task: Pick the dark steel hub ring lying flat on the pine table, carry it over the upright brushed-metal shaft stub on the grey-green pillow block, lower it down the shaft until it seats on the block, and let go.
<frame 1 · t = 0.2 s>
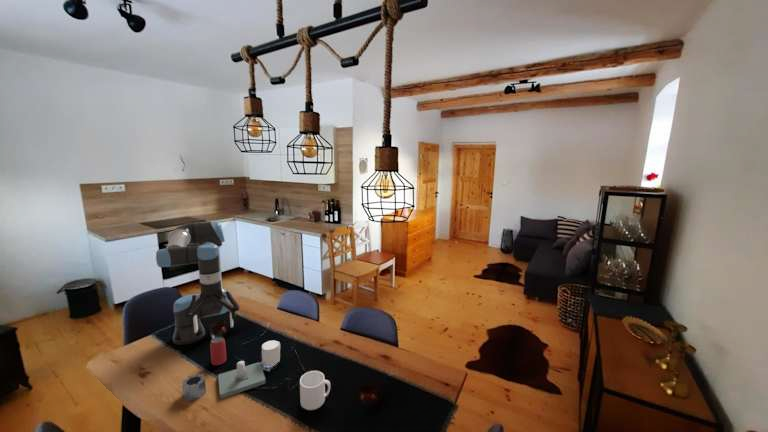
hand: (214, 328, 129), 27 cm above the table, fingers open, 13 cm apart
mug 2: (272, 360, 151), on the table
steel hub: (195, 393, 128), on the table
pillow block: (241, 380, 136), on the table
beer can: (219, 362, 149), on the table
mug: (315, 401, 125), on the table
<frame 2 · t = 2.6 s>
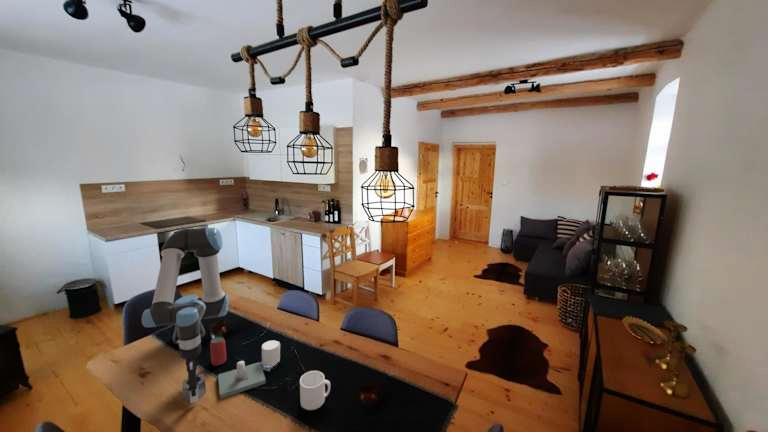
hand: (194, 391, 128), 1 cm above the table, fingers open, 13 cm apart
nothing on the table moved.
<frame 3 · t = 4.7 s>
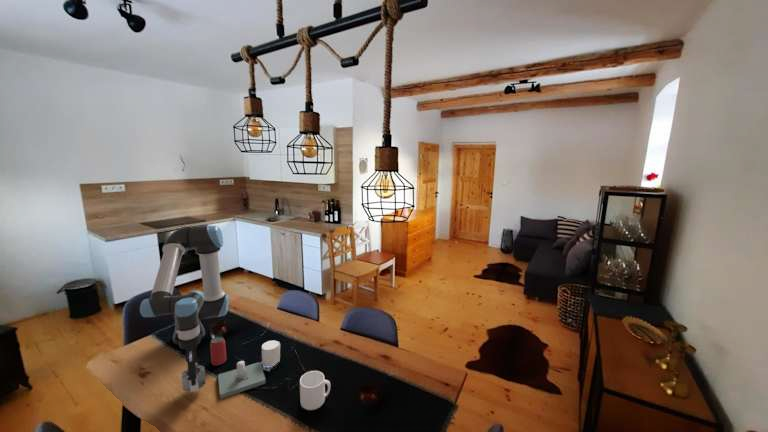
hand: (194, 383, 128), 4 cm above the table, fingers closed on steel hub, 8 cm apart
steel hub: (194, 384, 128), point 4 cm above the table, touching gripper
everything else where it was.
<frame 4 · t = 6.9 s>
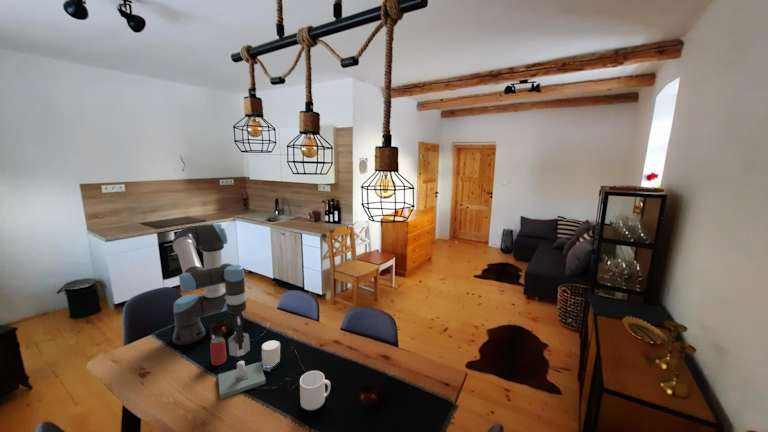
hand: (239, 349, 133), 16 cm above the table, fingers closed on steel hub, 8 cm apart
steel hub: (239, 350, 133), point 15 cm above the table, touching gripper
everything else where it was.
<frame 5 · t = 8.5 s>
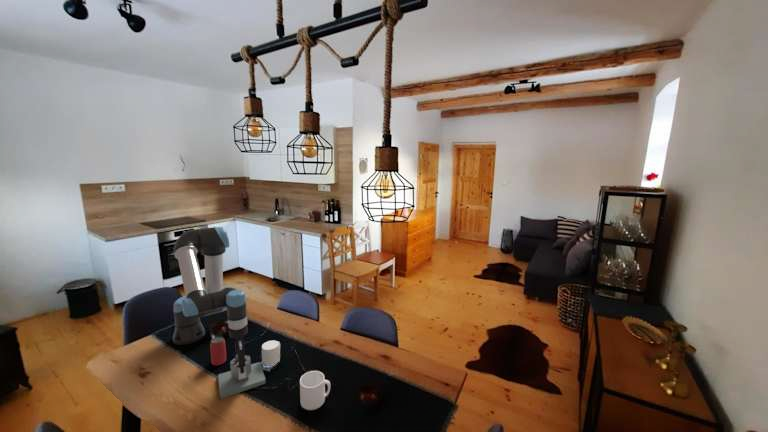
hand: (241, 372, 135), 4 cm above the table, fingers closed on steel hub, 8 cm apart
steel hub: (241, 373, 135), point 4 cm above the table, touching gripper
everything else where it was.
when the fingers open (4 cm above the table, at t = 9.5 s): steel hub drops 1 cm, resting on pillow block.
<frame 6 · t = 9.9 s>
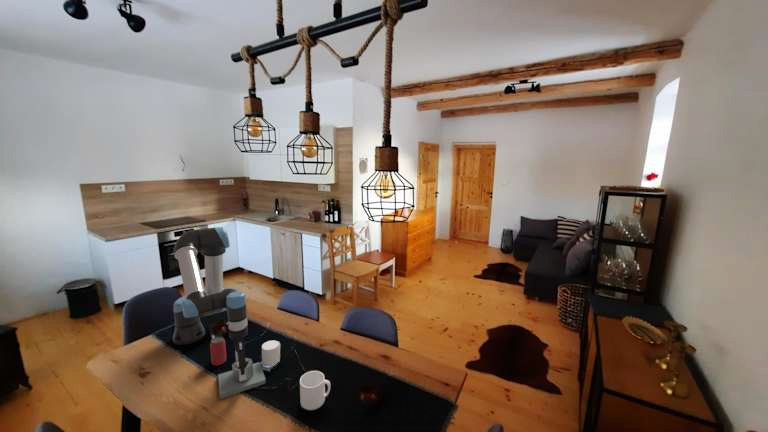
hand: (241, 370, 135), 5 cm above the table, fingers open, 13 cm apart
steel hub: (243, 375, 136), point 2 cm above the table, touching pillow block
everything else where it was.
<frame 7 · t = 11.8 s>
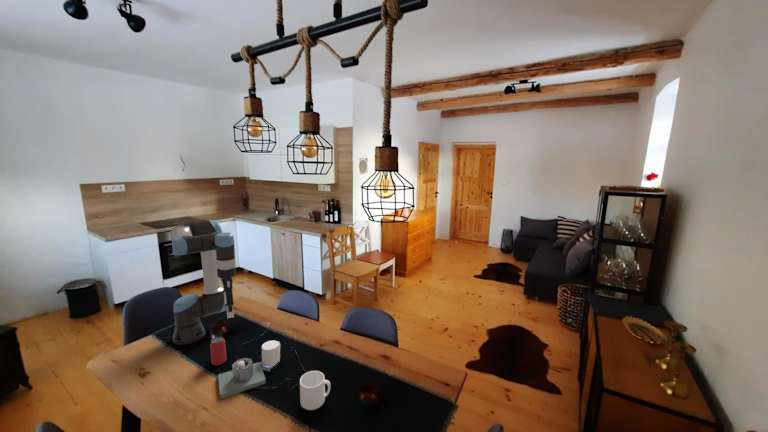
hand: (229, 310, 139), 30 cm above the table, fingers open, 13 cm apart
nothing on the table moved.
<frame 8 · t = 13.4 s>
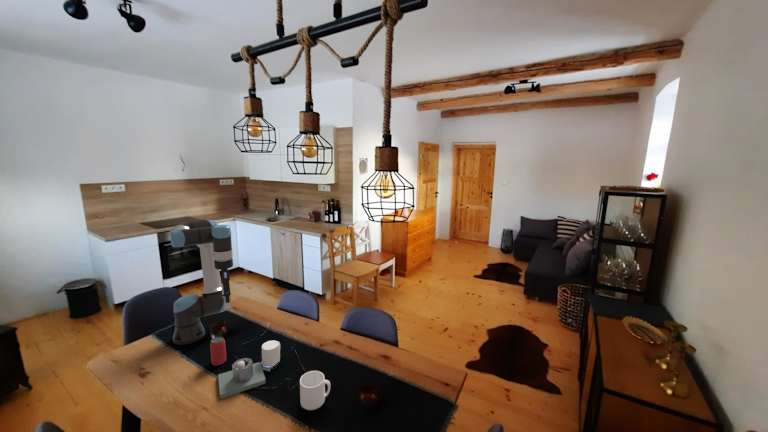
hand: (226, 302, 141), 33 cm above the table, fingers open, 13 cm apart
nothing on the table moved.
at the end: steel hub 0.7 cm off-centre on the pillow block, point 2.3 cm above the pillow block's base; the gripper is holding nothing; steel hub tilted 0° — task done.
